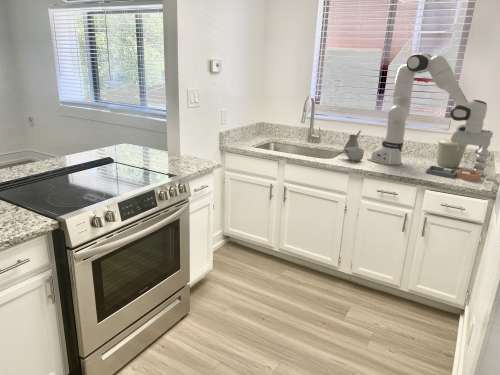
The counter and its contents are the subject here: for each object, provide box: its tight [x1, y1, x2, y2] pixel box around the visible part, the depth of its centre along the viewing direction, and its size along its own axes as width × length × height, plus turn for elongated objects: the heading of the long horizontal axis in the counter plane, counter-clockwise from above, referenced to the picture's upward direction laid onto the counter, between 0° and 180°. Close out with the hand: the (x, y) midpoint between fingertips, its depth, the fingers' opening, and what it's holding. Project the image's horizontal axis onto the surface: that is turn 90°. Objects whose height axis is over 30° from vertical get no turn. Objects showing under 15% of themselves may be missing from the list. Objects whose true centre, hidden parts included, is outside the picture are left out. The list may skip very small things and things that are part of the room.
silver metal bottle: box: [472, 146, 490, 177], centre depth 233 cm, size 6×7×20 cm
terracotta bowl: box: [456, 169, 482, 182], centre depth 227 cm, size 12×12×4 cm
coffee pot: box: [343, 130, 363, 154], centre depth 284 cm, size 21×12×15 cm, turn 146°
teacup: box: [342, 147, 365, 162], centre depth 260 cm, size 14×11×8 cm
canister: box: [436, 135, 469, 169], centre depth 252 cm, size 18×18×21 cm
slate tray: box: [425, 165, 459, 179], centre depth 235 cm, size 16×14×3 cm
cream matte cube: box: [443, 167, 453, 174], centre depth 233 cm, size 4×4×3 cm
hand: (467, 151), depth 225 cm, fingers open, 8 cm apart
